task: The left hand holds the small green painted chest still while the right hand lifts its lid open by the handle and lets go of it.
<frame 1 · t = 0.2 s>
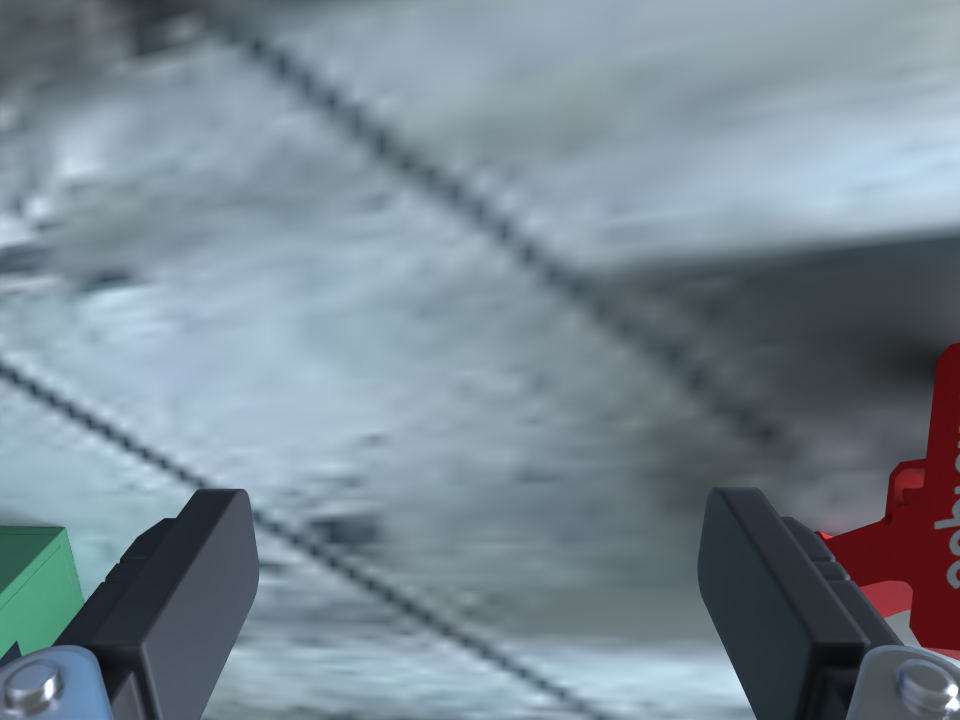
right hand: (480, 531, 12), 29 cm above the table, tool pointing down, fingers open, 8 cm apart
toy gun: (901, 452, 44), on the table
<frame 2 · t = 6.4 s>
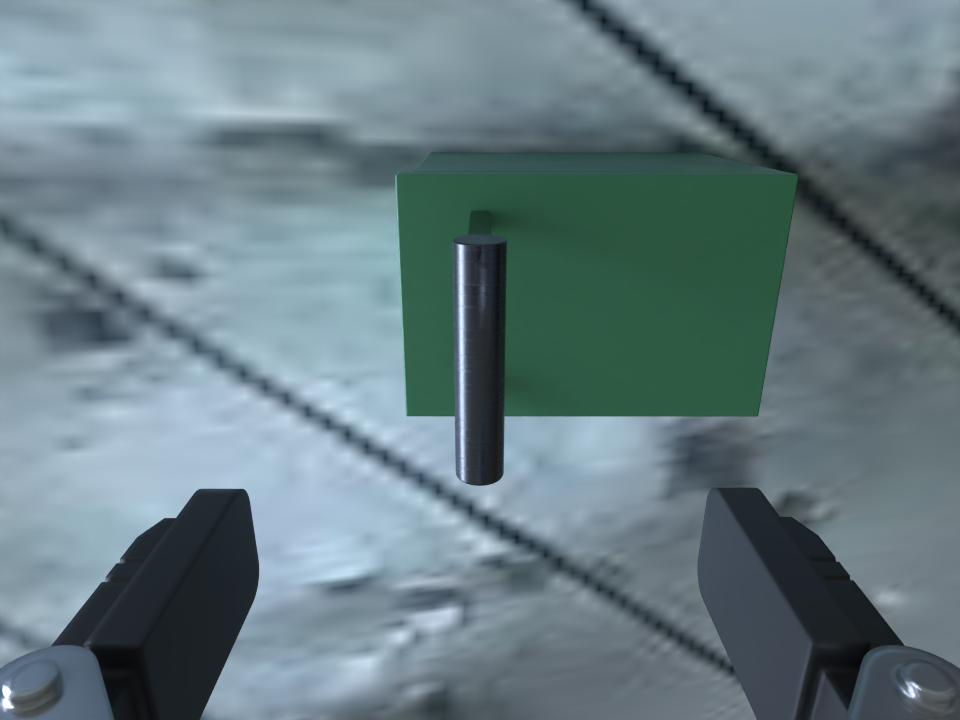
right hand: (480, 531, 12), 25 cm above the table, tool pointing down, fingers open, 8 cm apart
lid: (602, 328, 22), point 14 cm above the table, hinge at 0.0°
chest: (560, 244, 35), on the table
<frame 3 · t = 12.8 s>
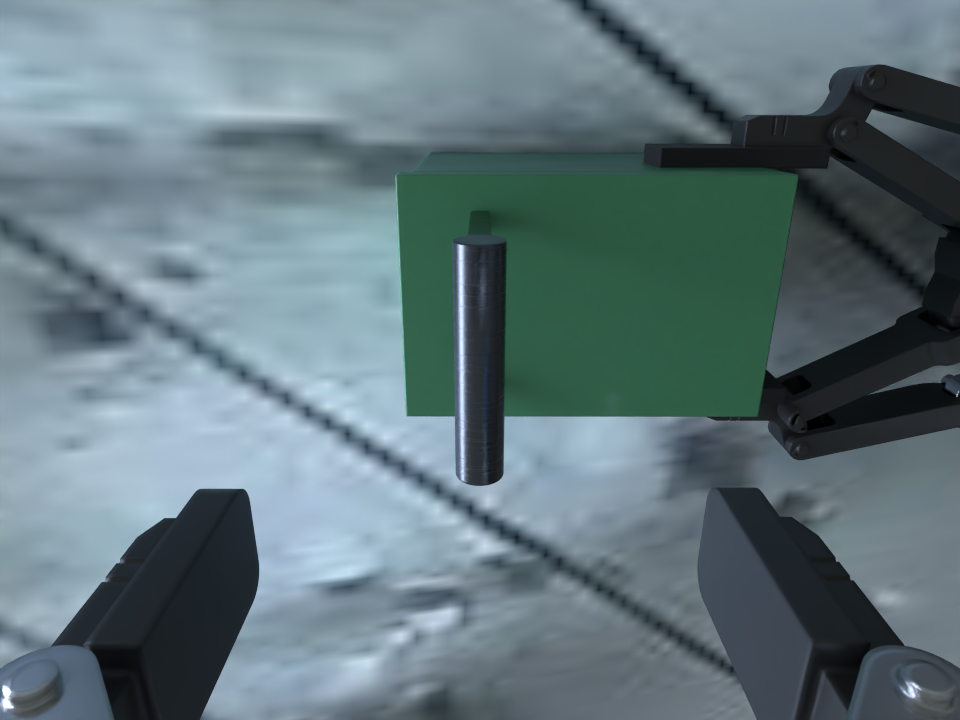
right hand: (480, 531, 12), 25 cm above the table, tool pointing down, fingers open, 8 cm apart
lid: (602, 328, 22), point 14 cm above the table, hinge at 0.0°
chest: (560, 244, 35), on the table, touching left hand
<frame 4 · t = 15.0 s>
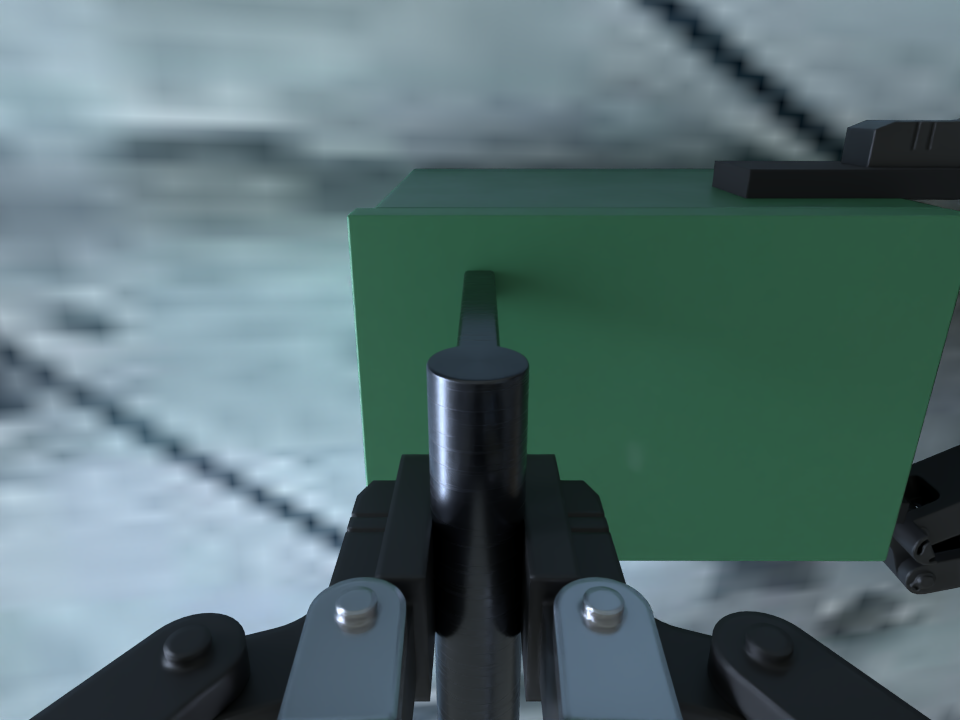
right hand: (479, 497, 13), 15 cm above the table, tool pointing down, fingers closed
lid: (676, 465, 14), point 14 cm above the table, hinge at -0.1°, touching right hand
chest: (585, 288, 27), on the table, touching left hand
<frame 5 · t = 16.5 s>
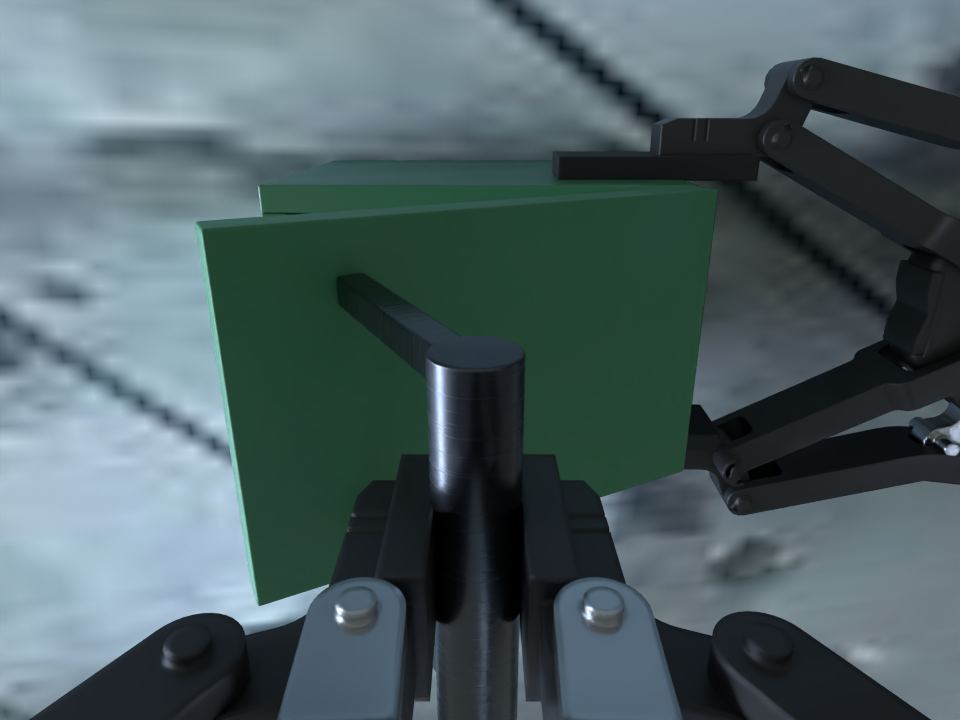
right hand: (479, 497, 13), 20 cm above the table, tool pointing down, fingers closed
left hand: (550, 304, 25), fingers closed on chest, 9 cm apart
lid: (567, 424, 15), point 17 cm above the table, hinge at 29.4°, touching right hand
chest: (483, 262, 31), on the table, touching left hand
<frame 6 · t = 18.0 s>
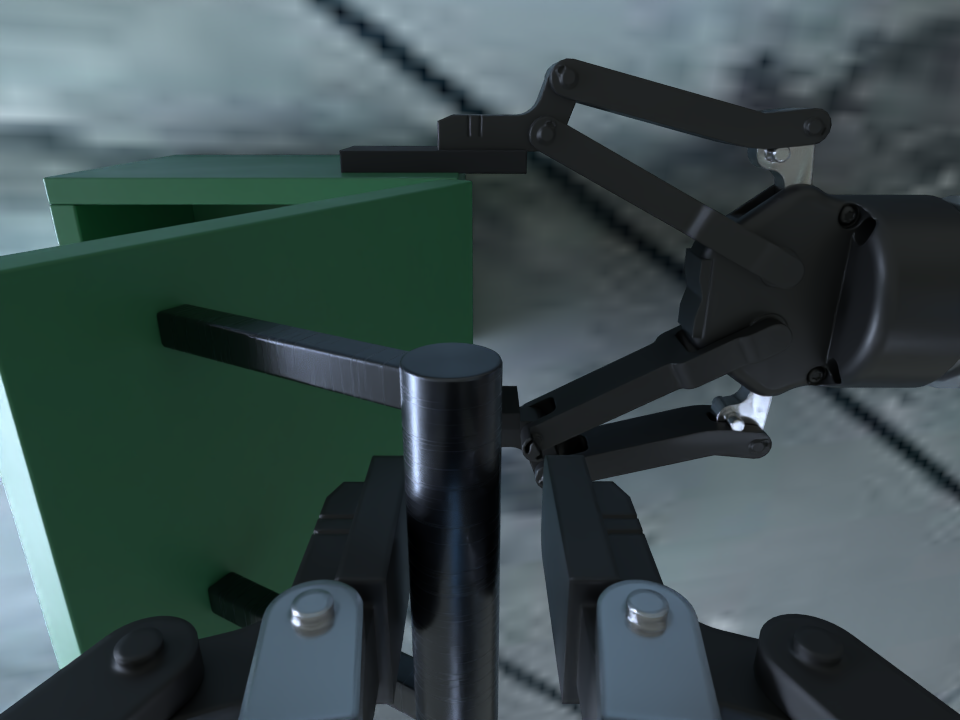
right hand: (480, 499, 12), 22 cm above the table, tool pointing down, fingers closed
left hand: (356, 291, 26), fingers closed on chest, 9 cm apart
lid: (427, 422, 15), point 19 cm above the table, hinge at 60.3°
chest: (328, 253, 33), on the table, touching left hand
when the left hand's fingers open (7 cm above the table, at t = 22.0 s): chest stays where it is, on the table.
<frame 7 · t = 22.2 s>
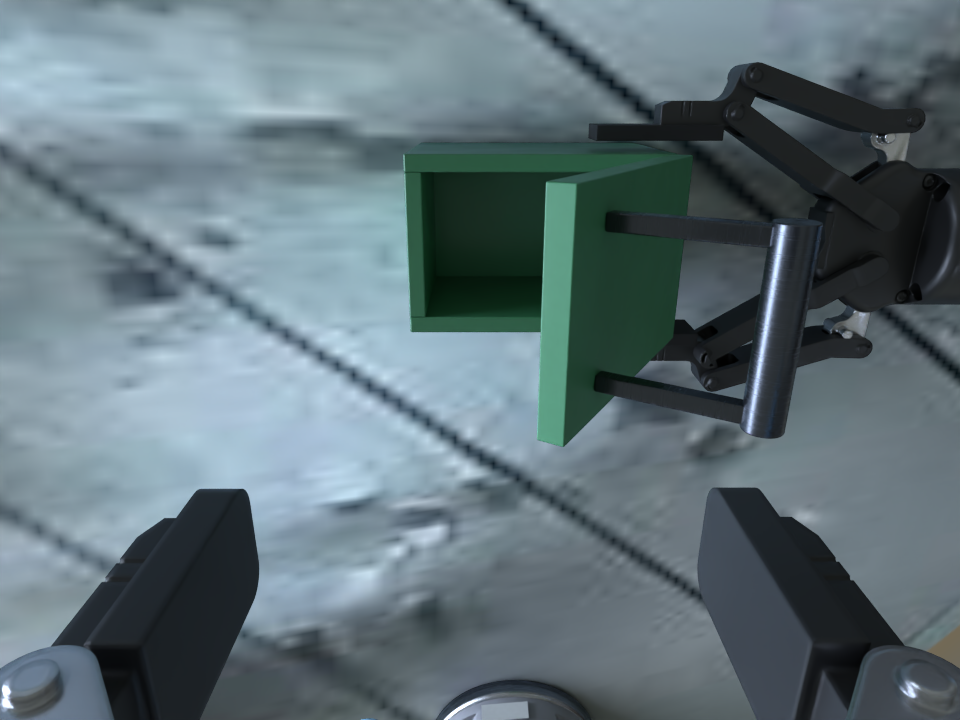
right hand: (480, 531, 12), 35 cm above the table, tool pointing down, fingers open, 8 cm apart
left hand: (586, 237, 37), fingers open, 11 cm apart
lid: (707, 290, 27), point 18 cm above the table, hinge at 59.0°
chest: (525, 216, 44), on the table
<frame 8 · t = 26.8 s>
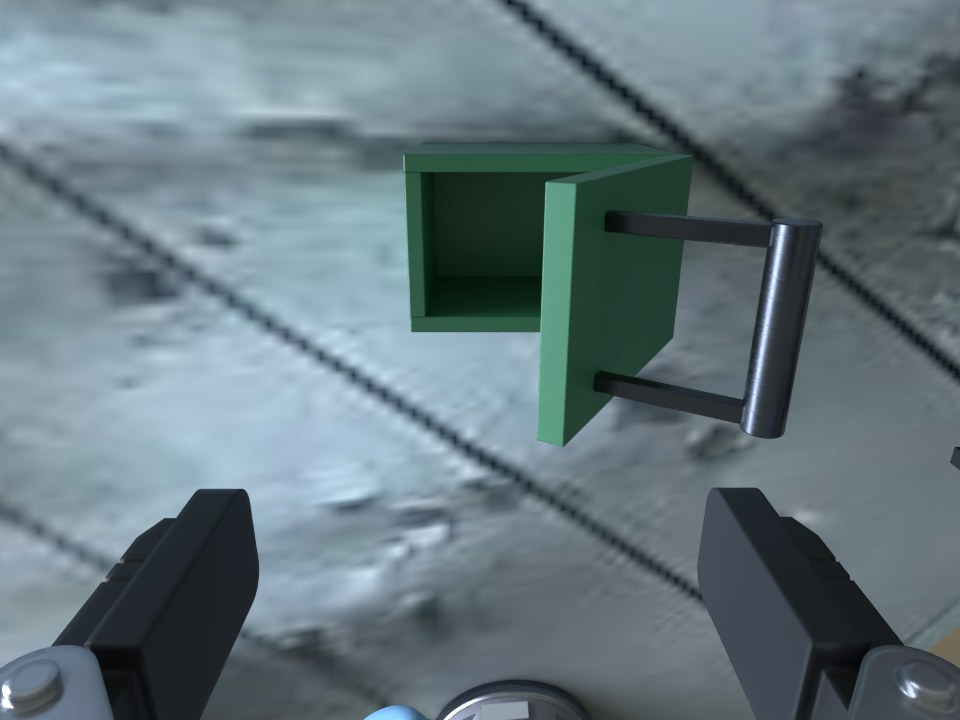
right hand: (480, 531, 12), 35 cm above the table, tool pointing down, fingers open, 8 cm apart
lid: (707, 290, 27), point 19 cm above the table, hinge at 59.0°
chest: (525, 216, 44), on the table
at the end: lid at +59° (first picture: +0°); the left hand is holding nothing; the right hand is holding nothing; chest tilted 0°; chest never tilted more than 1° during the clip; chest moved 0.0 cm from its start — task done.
